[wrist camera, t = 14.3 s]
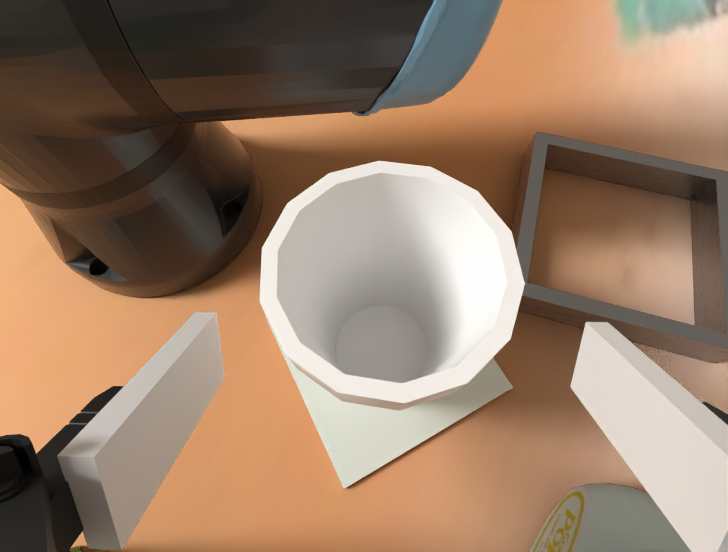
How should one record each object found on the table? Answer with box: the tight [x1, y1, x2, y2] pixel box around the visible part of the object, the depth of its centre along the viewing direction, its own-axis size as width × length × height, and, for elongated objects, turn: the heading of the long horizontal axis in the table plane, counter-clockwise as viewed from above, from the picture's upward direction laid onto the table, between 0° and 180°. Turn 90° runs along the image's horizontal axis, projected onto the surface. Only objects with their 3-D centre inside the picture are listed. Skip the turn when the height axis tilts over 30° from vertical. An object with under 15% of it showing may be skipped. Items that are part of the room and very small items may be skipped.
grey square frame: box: [511, 132, 728, 363], centre depth 28 cm, size 14×14×2 cm
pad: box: [265, 314, 513, 489], centre depth 26 cm, size 12×12×1 cm
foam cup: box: [260, 161, 525, 411], centre depth 20 cm, size 10×9×13 cm
